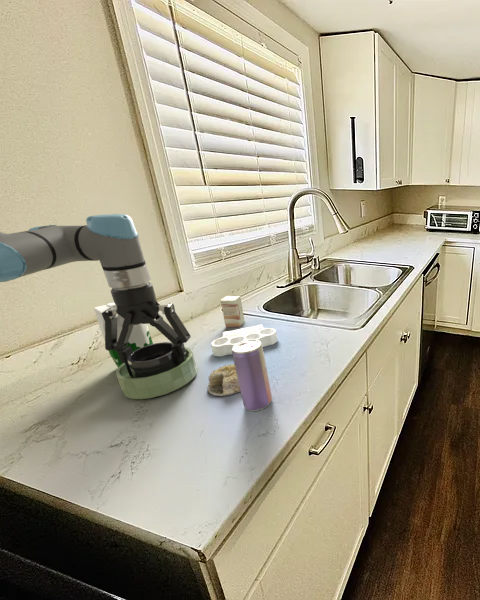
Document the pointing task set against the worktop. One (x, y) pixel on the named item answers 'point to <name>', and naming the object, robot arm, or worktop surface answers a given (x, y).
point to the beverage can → (252, 374)
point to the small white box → (232, 311)
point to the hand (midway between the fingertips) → (158, 369)
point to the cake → (224, 381)
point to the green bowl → (157, 379)
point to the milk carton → (137, 337)
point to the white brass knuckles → (243, 339)
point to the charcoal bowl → (152, 360)
